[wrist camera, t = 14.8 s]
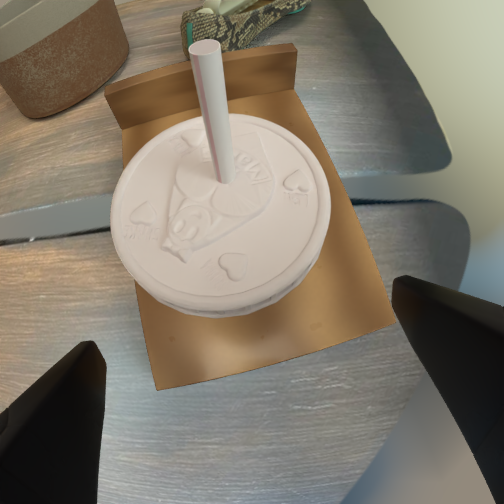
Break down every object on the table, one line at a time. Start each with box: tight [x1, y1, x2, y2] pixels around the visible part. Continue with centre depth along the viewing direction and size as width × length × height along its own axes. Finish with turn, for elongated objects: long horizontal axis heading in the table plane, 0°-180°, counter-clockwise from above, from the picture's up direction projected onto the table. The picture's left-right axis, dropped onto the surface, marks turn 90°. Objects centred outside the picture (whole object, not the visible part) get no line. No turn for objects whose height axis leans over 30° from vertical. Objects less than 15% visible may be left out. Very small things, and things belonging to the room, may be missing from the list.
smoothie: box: [110, 39, 331, 319], centre depth 11 cm, size 6×6×14 cm
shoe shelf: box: [104, 43, 396, 391], centre depth 19 cm, size 14×20×7 cm
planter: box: [0, 0, 129, 118], centre depth 23 cm, size 16×16×14 cm
